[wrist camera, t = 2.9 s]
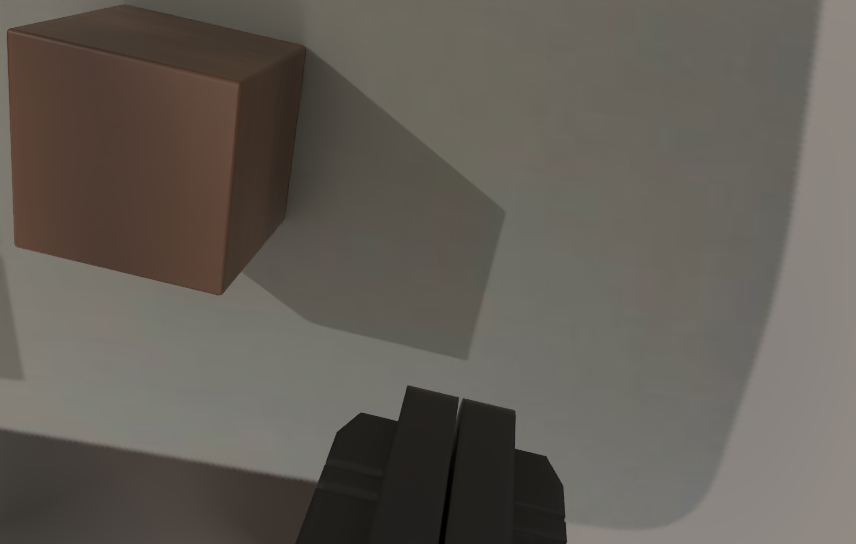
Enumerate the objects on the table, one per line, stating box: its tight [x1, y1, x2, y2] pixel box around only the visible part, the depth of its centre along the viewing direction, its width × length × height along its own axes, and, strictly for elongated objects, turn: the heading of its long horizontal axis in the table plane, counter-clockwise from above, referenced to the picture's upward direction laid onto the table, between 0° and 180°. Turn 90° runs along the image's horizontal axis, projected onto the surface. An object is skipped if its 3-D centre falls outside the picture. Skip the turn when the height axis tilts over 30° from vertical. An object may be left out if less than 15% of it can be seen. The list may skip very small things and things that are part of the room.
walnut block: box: [7, 5, 306, 295], centre depth 19 cm, size 5×5×5 cm
